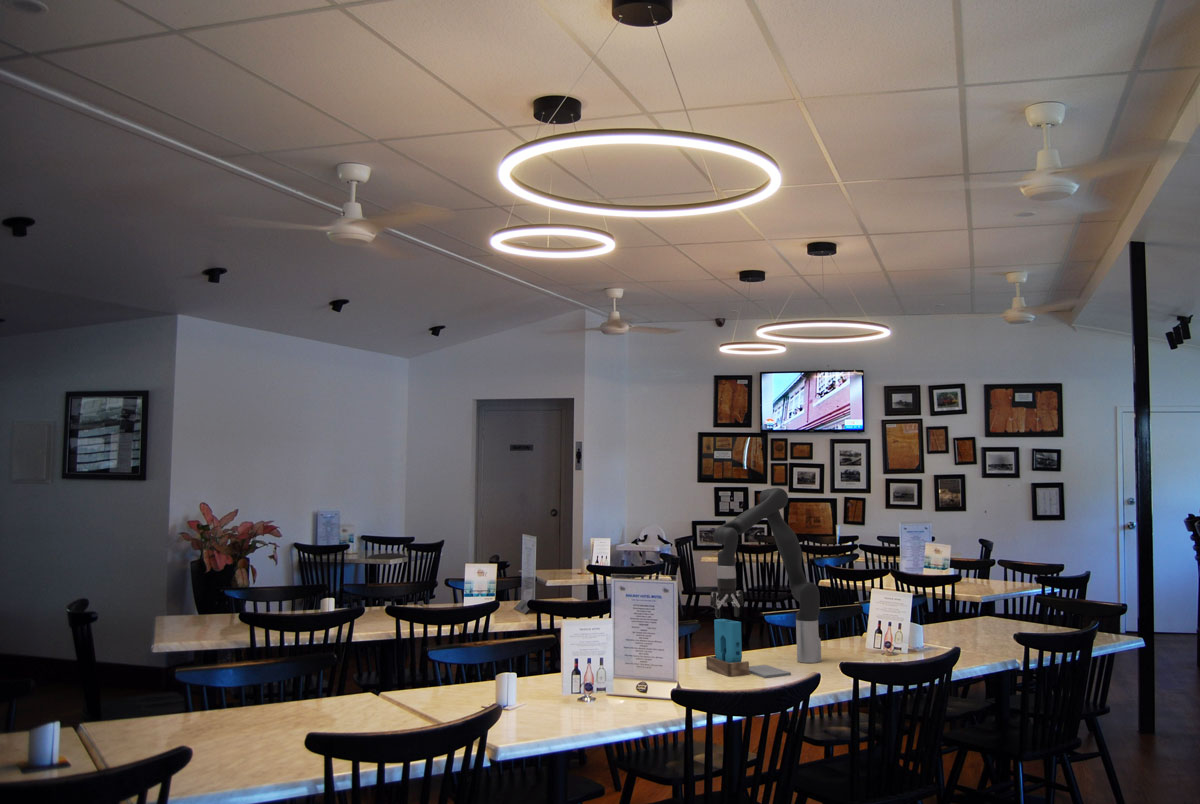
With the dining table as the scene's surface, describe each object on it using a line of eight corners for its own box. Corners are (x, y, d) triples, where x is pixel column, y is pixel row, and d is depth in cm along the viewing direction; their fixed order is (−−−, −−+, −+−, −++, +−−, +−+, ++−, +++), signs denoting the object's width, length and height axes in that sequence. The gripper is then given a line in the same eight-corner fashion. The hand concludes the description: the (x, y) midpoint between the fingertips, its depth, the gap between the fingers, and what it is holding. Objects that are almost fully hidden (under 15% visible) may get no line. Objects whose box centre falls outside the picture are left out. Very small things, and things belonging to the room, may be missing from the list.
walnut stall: (725, 666, 374) (725, 654, 374) (749, 674, 358) (748, 661, 358) (706, 668, 370) (706, 656, 370) (729, 676, 354) (728, 663, 355)
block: (743, 673, 360) (742, 622, 362) (733, 674, 358) (732, 623, 360) (723, 668, 371) (722, 618, 372) (714, 669, 368) (713, 619, 370)
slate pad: (765, 667, 372) (765, 664, 372) (791, 675, 356) (790, 672, 356) (740, 669, 367) (740, 667, 368) (765, 678, 351) (765, 675, 351)
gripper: (736, 575, 374) (737, 615, 372) (706, 576, 368) (707, 617, 367) (746, 576, 367) (747, 617, 366) (716, 578, 361) (716, 619, 360)
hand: (727, 617), depth 366 cm, fingers open, 8 cm apart
